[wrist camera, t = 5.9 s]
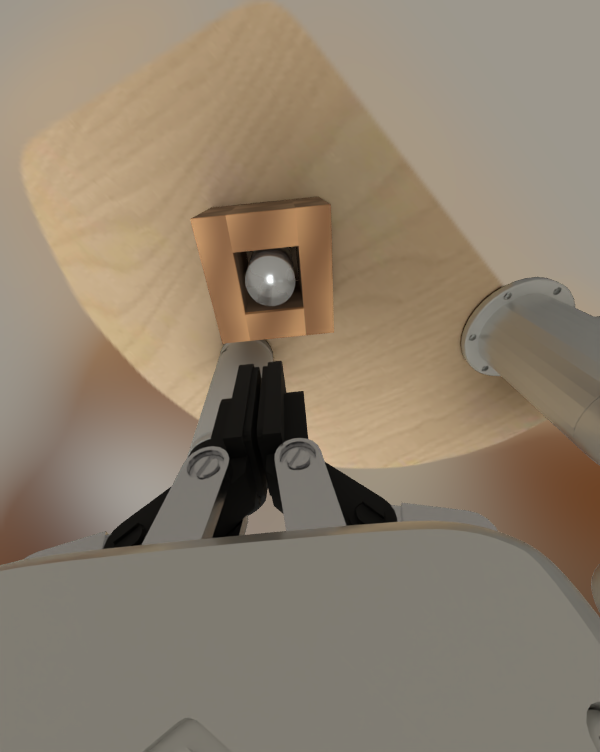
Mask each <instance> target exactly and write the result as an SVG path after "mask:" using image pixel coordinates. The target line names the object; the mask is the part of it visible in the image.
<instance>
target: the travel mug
mask: <svg viewBox="0 0 600 752" xmlns="http://www.w3.org/2000/svg"><path fill="white" fill-rule="evenodd" d="M268 362H273V352H272V349H271V347H270V346H269V344H268V343H267V342H266V341H265V340H255V341H245V342H235V343H226V344H224V345H223V347H222V350H221V353H220V356H219V359H218V363H217V366H216V369H215V372H214V375H213V378H212V381H211V384H210V388H209V391H208V394H207V397H206V400H205V403H204V406H203V409H202V413H201V416H200V419H199V422H198V425H197V428H196V431H195V434H194V437H193V441H192V444H191V447H190V451H189V453H188V457H189V456H190V455H191V454H192V453H194V452H196V451H197V450H199V449H202V448H205V447H208V446H209V442H210V439H211V435H212V431H213V428H214V424H215V420H216V416H217V413H218V409H219V405H220V402H221V400H222V399H228V398H232V394H233V390H234V385H235V381H236V376H237V372H238V367H239V365H245V364H254V367H259V368H260V373H261V378H262V369H263V366H268ZM188 457H187V458H188ZM267 489H268V484H267ZM266 495H267V491H266ZM265 501H266V496H263V497H261V505H260V507H261V506H262V505H263V503H264V502H265ZM260 507H255V508H254V509H253V510H252V511H251V512H250V513H249V514H248V515H250V514H252V513H253V512H255V511H257V509H259V508H260Z"/></svg>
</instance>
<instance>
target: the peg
mask: <svg viewBox="0 0 600 752" xmlns="http://www.w3.org/2000/svg"><path fill="white" fill-rule="evenodd" d="M245 284H246V288H247V291H248V293H249V294H250V296H251V297H252V298H253V299H254V300H255V301H256V302H258V303H260V304H262V305H266V306H277V305H280V304H282V303H284V302H285V301H287V300H288V299H289V298H290V297H291V295H292V293H293V291H294V288H295V275H294V268H293V262H292V255H291V251H290V249H289V247H283V248H273V249H264V250H254V251H253V253H252V256H251V259H250V263H249V266H248V269H247V272H246V276H245Z"/></svg>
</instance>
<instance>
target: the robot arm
mask: <svg viewBox="0 0 600 752" xmlns="http://www.w3.org/2000/svg"><path fill="white" fill-rule="evenodd" d="M461 349H462V354H463V356H464V358H465V360H466V361H467V362H468V364H469V365H470V366H471V367H472V368H474V369H475V370H476V371H478V372H480V373H482V374H485V375H489V376H502V377H503V378H504V379H505V380H506V381H507V382H508V383H509V384H510V385H511V386H512V387H514V388H515V389H516V390H517V391H518V392H519V393H520V394H521V395H522V396H523V397H524V398H525V399H527V400H528V401H529V402H530V403H531V404H532V405H533V406H534V407H535V408H536V409H537V410H538V411H540V412H541V413H542V414H543V415H544V416H545V417H546V418H547V419H548V420H549V421H550V422H551V423H553V424H554V425H555V426H556V427H557V428H558V429H559V430H560V431H561V432H562V433H564V434H565V435H566V436H567V437H568V438H569V439H570V440H571V441H572V442H573V443H574V444H575V445H576V446H577V447H579V448H580V449H581V450H582V451H583V452H584V453H585V454H586V455H587V456H589V457H590V458H591V459H592V460H593V461H595V462H596V463H597V464H598V465H600V316H599V317H598V316H597V317H593V316H591V315H589V314H587V313H585V312H583V311H580V310H578V309H576V308H575V303H574V298H573V296H572V294H571V292H570V290H569V289H568V288H567V287H566V286H564V285H562V284H561V283H559V282H557V281H554V280H551V279H548V278H540V277H533V278H525V279H522V280H518V281H515V282H512V283H510V284H508V285H506V286H503V287H502V288H500V289H499V290H497V291H495V292H494V293H492V294H491V295H490V296H489V297H488V298H486V299H485V300H484V301H483V302H482V303H481V304H480V305H479V306H478V307H477V308H476V309H475V311H474V312H473V314H472V315H471V317H470V318H469V320H468V322H467V324H466V326H465V328H464V331H463V334H462V339H461ZM267 484H268V489H269V493H270V495H271V496H272V499H273V504H274V506H275V507H276V508H277V509H278V510H279V511H281V512H282V513H283V514H284V520H285V526H286V531H284V532H272V533H261V534H251V535H245V532H246V528H247V524H248V514H249V513H250V512H251V511H252V510H253V509H254V508H255V507H260V505H261V497H263V496H266V491H267ZM591 584H592V585H591V588H592V593H593V597H594V600H595V603H596V606H597V608H598V610H599V612H600V564H599V565H598V567H597V568H596V569H595V571H594V574H593V576H592V582H591ZM0 752H600V618H599V616H598V615H597V614H596V612H595V611H594V610H593V608H592V607H591V606H590V605H589V603H588V602H587V601H586V600H585V598H584V597H583V596H582V595H581V593H580V592H579V591H578V590H577V589H576V587H575V586H574V585H573V584H572V583H571V582H570V580H569V579H568V578H567V577H566V576H565V575H564V574H563V573H562V572H561V571H560V570H559V569H558V567H556V565H555V564H553V562H551V561H550V560H549V559H548V558H547V557H545V556H544V555H543V554H542V553H541V552H539V551H538V550H537V549H534V548H533V547H532V546H530V545H528V544H527V543H525V542H523V541H521V540H518V539H516V538H513V537H511V536H509V535H506V534H504V533H501V532H498V531H497V529H496V527H495V526H494V525H493V524H492V523H491V522H490V521H489V520H488V519H487V518H485V517H483V516H482V515H480V514H478V513H474V512H471V511H466V510H458V509H449V508H441V507H433V506H424V505H416V504H408V503H402V504H401V506H395V505H390V504H389V503H388V502H387V501H385V499H383V498H382V497H380V496H379V495H377V494H375V493H374V492H372V491H370V490H369V489H367V488H366V487H364V486H363V485H361V484H359V483H358V482H356V481H355V480H353V479H351V478H350V477H348V476H347V475H345V474H343V473H342V472H340V471H339V470H337V469H335V468H334V467H332V466H331V465H329V464H327V463H326V462H324V459H323V456H322V453H321V450H320V448H319V447H318V445H317V444H316V443H315V442H313V441H311V440H309V439H308V433H307V423H306V413H305V402H304V392H303V391H299V392H289V393H286V387H285V380H284V373H283V366H282V361H275V362H268V366H263V369H262V378H261V373H260V368H259V367H254V364H245V365H239V367H238V372H237V376H236V381H235V385H234V390H233V394H232V398H228V399H222V400H221V402H220V405H219V409H218V413H217V416H216V420H215V424H214V428H213V431H212V435H211V439H210V442H209V446H208V447H205V448H202V449H199V450H197V451H196V452H194V453H192V454H191V455H190V456H189V457H188V458H187V459H186V461H185V462H184V464H183V465H182V467H181V469H180V471H179V473H178V475H177V477H176V479H175V481H174V483H173V485H172V487H170V488H169V489H167V490H166V491H165V492H163V493H162V494H161V495H159V496H158V497H157V498H155V499H154V500H153V501H151V502H150V503H149V504H147V505H146V506H144V507H143V508H142V509H140V510H139V511H138V512H136V513H135V514H134V515H132V516H131V517H130V518H128V519H127V520H126V521H124V522H123V523H121V525H119V526H118V527H117V528H116V529H115V530H114V531H113V532H112V533H111V534H108V533H107V532H106V531H105V532H102V533H98V534H95V535H92V536H88V537H85V538H82V539H79V540H75V541H72V542H69V543H66V544H62V545H59V546H56V547H53V548H49V549H46V550H42V551H39V552H37V553H34V554H32V555H30V556H28V557H26V558H25V559H24V560H21V561H17V562H13V563H8V564H4V565H0Z"/></svg>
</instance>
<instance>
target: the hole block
mask: <svg viewBox="0 0 600 752" xmlns="http://www.w3.org/2000/svg"><path fill="white" fill-rule="evenodd" d="M190 220H191V224H192V228H193V232H194V236H195V240H196V243H197V247H198V251H199V255H200V259H201V263H202V267H203V270H204V274H205V278H206V282H207V286H208V290H209V294H210V297H211V301H212V305H213V309H214V313H215V317H216V320H217V324H218V328H219V332H220V336H221V340H222V344H226V343H235V342H245V341H255V340H264V339H274V338H284V337H293V336H303V335H313V334H322V333H332V332H334V317H333V276H332V236H331V205H330V204H329V203H327V202H326V201H324V200H323V199H321V198H320V197H310V198H301V199H291V200H281V201H272V202H262V203H252V204H243V205H233V206H223V207H214V208H210V209H208V210H206V211H204V212H202V213H201V214H199V215H197V216H195V217H193V218H191V219H190ZM293 246H296V255H297V266H298V278H299V280H298V281H295V288H294V291H293V293H292V295H291V297H290V298H289V299H288V300H287V301H285V302H284V303H282V304H280V305H277V306H266V305H262V304H260V303H258V302H256V301H255V300H254V299H253V298H252V297H251V296H250V294H249V293H248V291H247V288H246V284H245V276H246V272H247V269H248V266H249V265H248V259H247V254H246V251H254V250H264V249H273V248H283V247H293Z"/></svg>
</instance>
